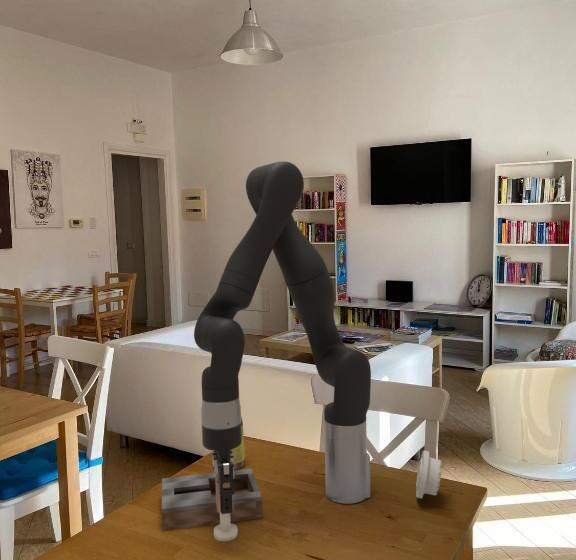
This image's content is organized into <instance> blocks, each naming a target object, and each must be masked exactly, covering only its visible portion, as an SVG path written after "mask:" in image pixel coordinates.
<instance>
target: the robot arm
mask: <svg viewBox="0 0 576 560" xmlns="http://www.w3.org/2000/svg"><path fill="white" fill-rule="evenodd" d="M304 187H305V182H304V177H303V173H302V172H301V170H300V168H299V167H298V166H297V165H296V164H295V163H292V162H289V161H276V162H271V163H269V164H264V165H261V166H258V167H255V168H254V169H252V170H251V171H250V172H249V174H248V175H247V178H246V181H245V191H246V195H247V199H248V202H249V203H250V206H251V208H252V209H253V212H254V214H255V217H254V220H253V222H252V223H251V225H250V226H249V228H248V230H247V231H246V233H245V235H244V236H243V237H242V239H241V240H240V242H239V243H238V244H237V246H236V247H235V249H234V250H233V252H232V253H231V255H230V257H229V258H228V260H227V262H226V265H225V267H224V270H223V272H222V274H221V276H220V280H219V283H218V285H217V287H216V291H215V292H214V293H213V295H212V296H211V298H210V299H209V300H208V302H207V304H206V305H205V306H204V308H203V310H202V311H201V313H200V315H199V316H198V319H197V320H196V322H195V325H194V326H195V327H194V330H193V331H194V332H193V339H194V343H195V344H196V346H197V347H198V348H199V349H201V350H202V351H205V352H207V353H210V354H211V357H210V359H211V360H210V366H207V367H205V368H204V369H203V371H202V374H201V409H200V410H201V411H200V412H201V413H200V415H201V435H202V436H201V438H202V439H201V441H202V446H203V448H205V449H206V450H209V451H213V452H211V461H212V468H213V469H214V470H213V473H215V477H216V482H217V483H219V493H220V510H221V513H222V514H227V513H232V511H233V505H232V495H234V493H235V490H234V455H232V449H234V448H237V447H238V446H239V445H240V444H241V442H242V428H241V417H242V408H241V407H242V406H241V400H240V386H239V385H240V382H239V375H240V370H241V366H242V362H243V357H244V352H245V347H246V346H245V344H246V343H245V341H246V340H245V333H244V330H243V327H242V326H241V324H240V323H239V322H237V321H236V320H235V319H234V318H235V316H236V315H237V313H239V312H240V311H243V310H247V308H248V307H249V306H250V305H251V304H252V301H253V298H254V296H255V292H256V290H257V287H258V284H259V283H260V280H261V277H262V274H263V272H264V269H265V266H266V265H267V262H268V260H269V258H270V256H271V253H272V251H273V255H274V256H275V258H276V261H277V264H278V266H279V268H280V271H281V275H283V277H282V278H283V279H284V283H285V284H286V287H287V290H288V292H289V296H290V297H291V299H292V302H293V304H294V306H295V308H296V312H297V314H298V316H299V319H300V322H301V324H302V326H303V329H304V330H305V333H306V335H307V336H306V337H307V339H308V343H309V346H310V350H311V354H312V357H313V361H314V365H315V368H316V371H317V373H318V376H319V377H320V379H321V380H322V381H323V382H325V384H326V385H329V386H331V387H332V388H333V401H331V402H330V403H328V404H326V406H325V407H324V411H323V413H324V415H323V417H324V419H323V422H324V424H323V425H324V469H325V472H324V473H325V479H324V480H325V481H324V482H325V483H324V484H325V486H324V487H325V496H326V497H327V498H328V499H329V500H330V501H332V502H335V503H339V504H348V505H349V504H351V505H352V504H357V503H360V502H362V501H364V500H366V499H368V498H369V499H370V498H371V456H370V454H369V453H368V449H367V447H368V445H367V444H368V443H367V437H368V436H367V415H368V414H367V413H368V412H369V407H370V405H371V404H370V403H371V387H372V385H371V384H372V369H371V364H370V360H369V358H368V356H367V355H366V354H365V353H364V352H362V351H360V350H357V349H356V348H355V349H354V348H351V347H348V346H346V344H345V343H344V342H343V340H342V337H341V335H340V333H339V330H338V327H337V324H336V321H335V320H336V319H335V302H336V301H335V300H336V293H335V288H334V284H333V281H332V278H331V275H330V272H329V269H328V268H327V265H326V261H324V258H323V256H322V255H321V254H320V253H319V251H318V250H317V249H316V247H315V246H314V245H313V244H312V242H311V241H310V240H309V239H308V238H307V237H306V236H305V235H304V233H303V232H302V231H301V229H300V228H299V226H298V224H297V223H296V221H295V218H294V216H293V212H294V211H295V209H296V207H297V206H298V203H299V201H300V200H301V197H302V195H303V193H304V190H305V189H304ZM224 483H229V486H230V487H227V488H223V484H224Z"/></svg>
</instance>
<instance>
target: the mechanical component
mask: <svg viewBox="0 0 576 560" xmlns="http://www.w3.org/2000/svg"><path fill="white" fill-rule="evenodd" d="M441 476H442V460H440V459H437V458H433V457H431V456H430V451H428V450H423V451H422V453H421V457H420V460H419V462H418V467H417V474H416V482H415V483H416V484H415V486H416V487H415V488H416V491H415V496H416V498H417V499H423V497H424V494H427V495H431V496H437V495H438V491H439V488H440V483H441Z"/></svg>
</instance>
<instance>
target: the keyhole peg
mask: <svg viewBox="0 0 576 560" xmlns="http://www.w3.org/2000/svg"><path fill="white" fill-rule="evenodd" d="M215 483H216V506H217V511H218V513H219V512H220V524H216V526H215V527H214V528H213V538H214V539H215V540H216V541H219V542H229V541H233V540H234V539H236V538H237V537H238V535H239V534H238V526H237V525H236V524H234V523H233V522H230V513H227V514H222V513H221V510H220V493H219V483H217V482H216V477H215ZM227 487H230V486H229V483H224V484H223V488H227ZM232 505H233V495H232Z"/></svg>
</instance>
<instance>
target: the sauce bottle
mask: <svg viewBox="0 0 576 560" xmlns="http://www.w3.org/2000/svg"><path fill="white" fill-rule="evenodd" d="M243 422H244V421H243V417H242V416H241V428H242V442H241V444H240V445H239V446H238V447H237V448H234V449H232V455H234V470H241V469H242V468H243V467H245V465H246V451H245V450H246V448H245V437H244V436H245V434H244V425H243V424H244V423H243Z"/></svg>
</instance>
